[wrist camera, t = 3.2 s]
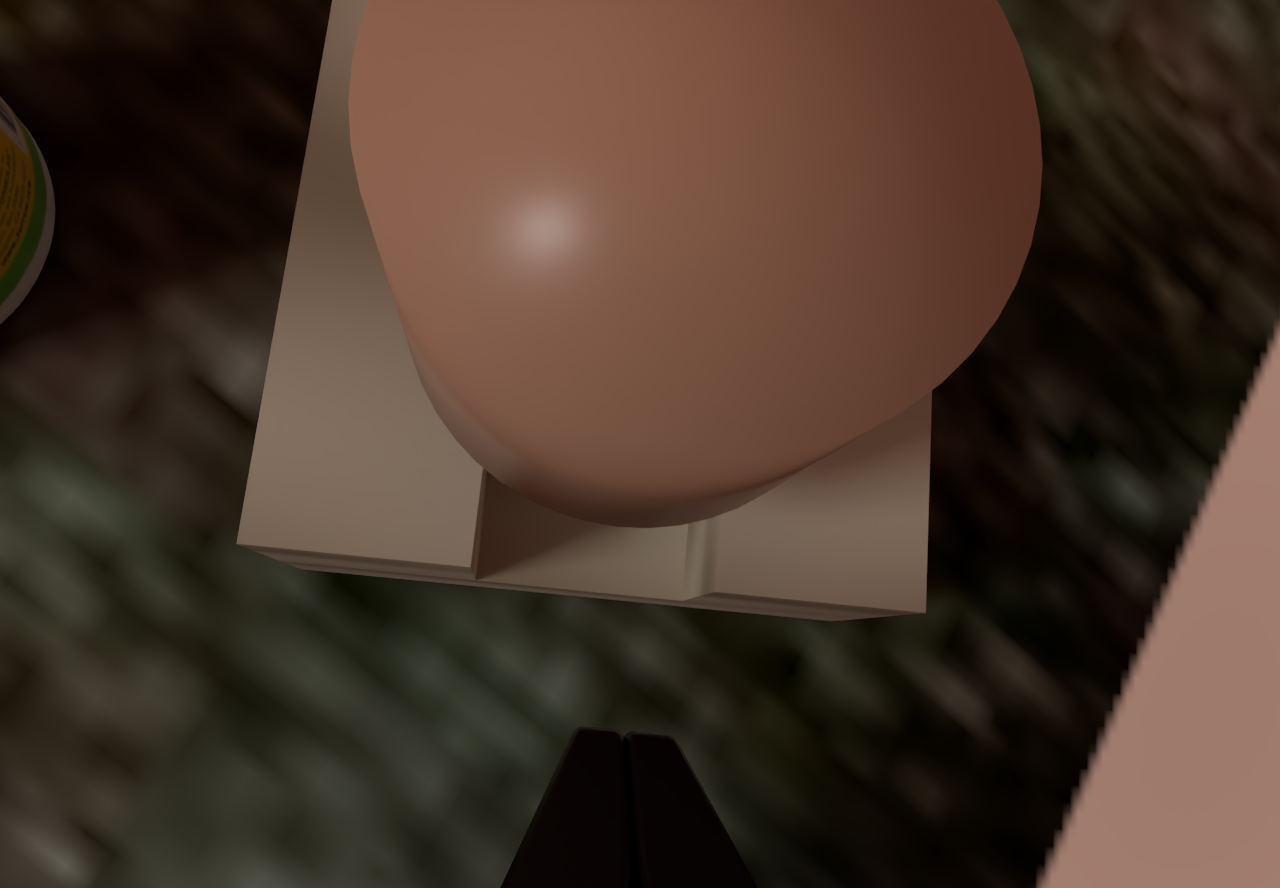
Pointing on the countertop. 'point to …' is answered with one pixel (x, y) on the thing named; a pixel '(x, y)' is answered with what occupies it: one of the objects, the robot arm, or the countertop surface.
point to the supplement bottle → (22, 211)
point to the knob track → (491, 511)
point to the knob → (689, 228)
